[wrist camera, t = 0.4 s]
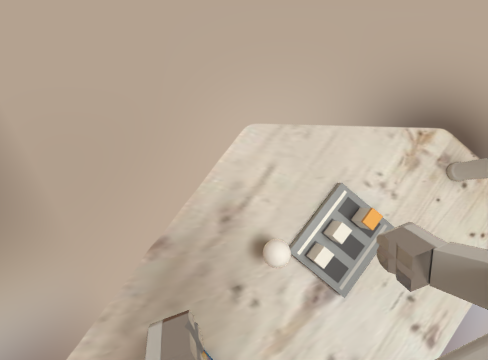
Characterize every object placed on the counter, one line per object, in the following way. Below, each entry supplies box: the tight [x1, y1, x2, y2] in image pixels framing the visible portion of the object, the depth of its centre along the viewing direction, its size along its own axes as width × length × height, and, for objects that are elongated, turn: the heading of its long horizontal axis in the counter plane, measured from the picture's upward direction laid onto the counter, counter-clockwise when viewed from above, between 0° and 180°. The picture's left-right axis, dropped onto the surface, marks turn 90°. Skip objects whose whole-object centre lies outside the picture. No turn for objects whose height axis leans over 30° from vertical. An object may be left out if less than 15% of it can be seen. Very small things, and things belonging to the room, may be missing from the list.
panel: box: [289, 183, 395, 298], centre depth 61 cm, size 18×22×7 cm
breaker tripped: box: [351, 208, 383, 230], centre depth 60 cm, size 3×4×5 cm
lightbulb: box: [263, 239, 291, 268], centre depth 57 cm, size 6×6×11 cm
